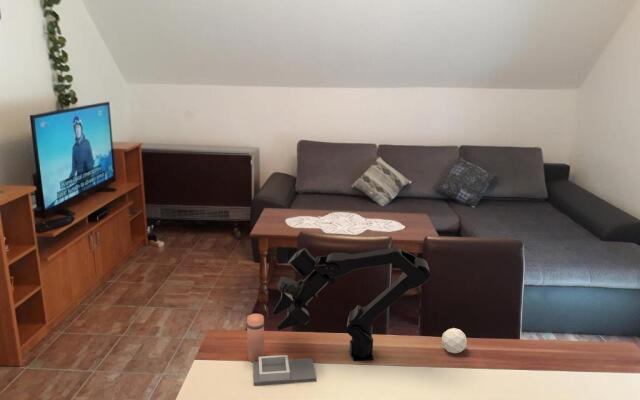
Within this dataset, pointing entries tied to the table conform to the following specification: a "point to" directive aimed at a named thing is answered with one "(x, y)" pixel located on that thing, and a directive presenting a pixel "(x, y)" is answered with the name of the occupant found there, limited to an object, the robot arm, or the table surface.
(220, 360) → the table surface
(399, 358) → the table surface
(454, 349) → the geometric ball
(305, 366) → the jig
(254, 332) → the banded pink rod
